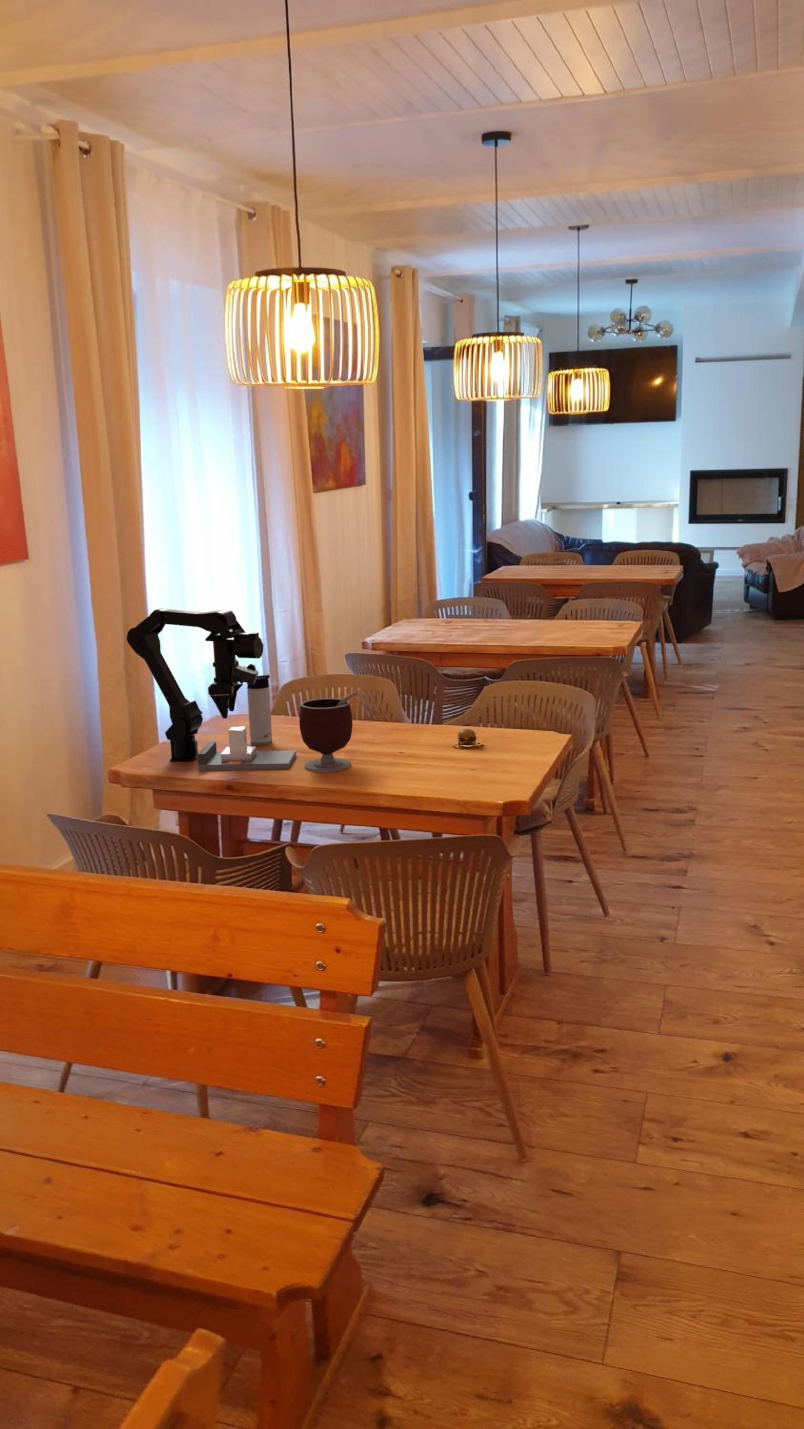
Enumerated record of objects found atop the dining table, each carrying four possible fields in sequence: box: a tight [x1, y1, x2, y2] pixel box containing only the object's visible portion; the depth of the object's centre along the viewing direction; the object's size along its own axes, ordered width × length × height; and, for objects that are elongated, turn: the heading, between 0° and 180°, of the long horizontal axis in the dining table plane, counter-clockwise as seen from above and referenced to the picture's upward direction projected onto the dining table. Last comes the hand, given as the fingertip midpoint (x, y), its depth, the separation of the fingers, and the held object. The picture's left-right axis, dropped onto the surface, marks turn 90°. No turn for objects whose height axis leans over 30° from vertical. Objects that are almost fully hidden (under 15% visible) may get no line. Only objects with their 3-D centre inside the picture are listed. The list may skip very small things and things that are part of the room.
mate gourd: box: [298, 691, 358, 773], centre depth 299 cm, size 16×14×20 cm
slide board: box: [197, 740, 297, 771], centre depth 307 cm, size 24×14×4 cm, turn 87°
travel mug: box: [246, 674, 273, 747], centre depth 327 cm, size 6×7×20 cm
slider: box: [221, 726, 257, 761], centre depth 306 cm, size 8×8×8 cm
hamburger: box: [457, 728, 478, 746], centre depth 318 cm, size 12×12×6 cm
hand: (228, 714), depth 307 cm, fingers open, 9 cm apart
